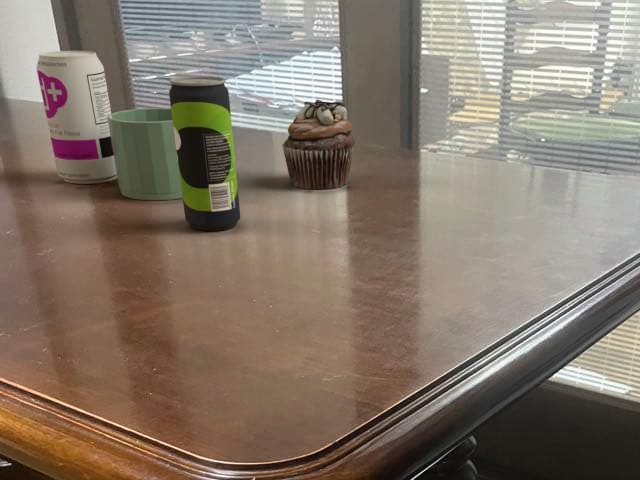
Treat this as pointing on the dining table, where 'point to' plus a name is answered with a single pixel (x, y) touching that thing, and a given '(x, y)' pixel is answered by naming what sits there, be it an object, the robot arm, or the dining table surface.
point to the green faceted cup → (145, 153)
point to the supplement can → (77, 115)
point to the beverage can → (205, 152)
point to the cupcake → (319, 146)
